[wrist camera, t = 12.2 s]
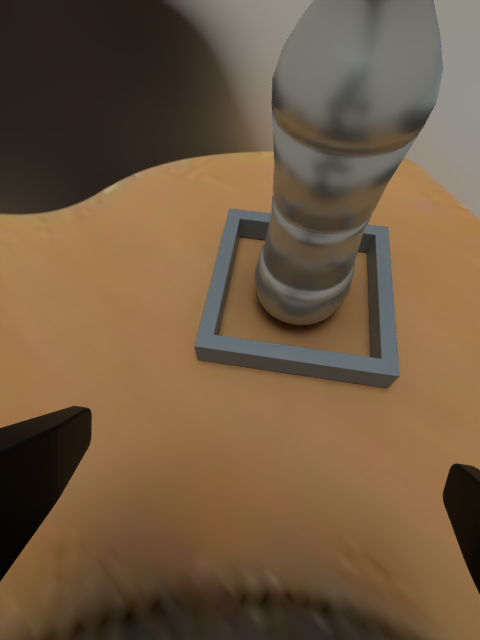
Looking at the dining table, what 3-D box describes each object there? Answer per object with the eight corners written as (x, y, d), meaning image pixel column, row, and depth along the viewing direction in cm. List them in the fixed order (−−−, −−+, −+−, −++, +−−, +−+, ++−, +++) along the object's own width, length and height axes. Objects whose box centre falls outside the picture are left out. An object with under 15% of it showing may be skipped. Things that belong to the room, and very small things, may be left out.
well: (387, 388, 23) (399, 376, 21) (197, 359, 24) (194, 346, 22) (379, 244, 29) (388, 226, 27) (229, 226, 30) (229, 208, 28)
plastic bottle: (234, 303, 26) (232, -134, 9) (288, 250, 29) (364, -164, 12) (307, 354, 24) (485, -87, 7) (357, 291, 27) (574, -137, 10)
